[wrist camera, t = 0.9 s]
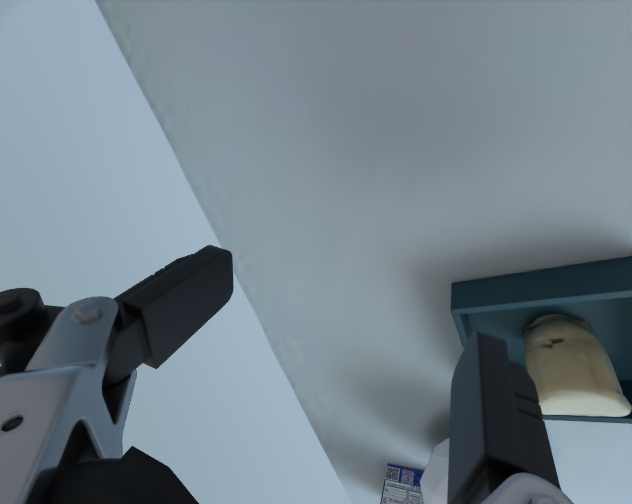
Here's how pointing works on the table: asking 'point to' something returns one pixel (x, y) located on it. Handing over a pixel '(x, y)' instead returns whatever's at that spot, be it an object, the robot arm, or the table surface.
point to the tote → (555, 312)
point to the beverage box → (402, 485)
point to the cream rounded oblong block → (571, 369)
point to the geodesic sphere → (436, 475)
